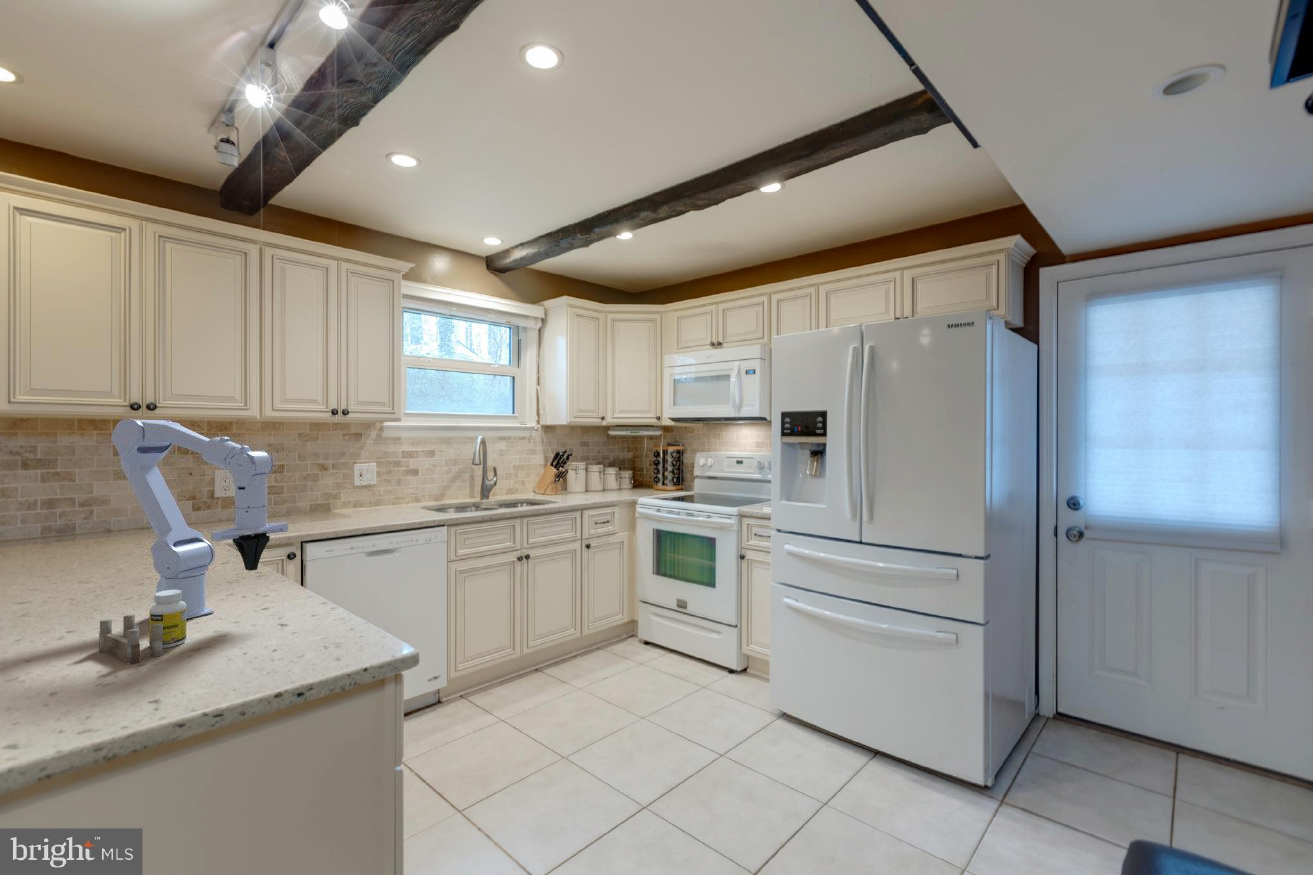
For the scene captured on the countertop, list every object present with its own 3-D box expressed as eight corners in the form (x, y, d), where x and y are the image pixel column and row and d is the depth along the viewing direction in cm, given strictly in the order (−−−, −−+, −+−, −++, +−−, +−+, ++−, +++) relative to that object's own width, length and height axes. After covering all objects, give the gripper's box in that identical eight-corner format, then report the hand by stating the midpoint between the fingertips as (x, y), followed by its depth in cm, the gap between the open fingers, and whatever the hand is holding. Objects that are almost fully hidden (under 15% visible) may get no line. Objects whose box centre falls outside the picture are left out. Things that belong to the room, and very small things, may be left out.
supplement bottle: (143, 650, 108) (143, 597, 108) (156, 640, 113) (156, 589, 113) (180, 647, 110) (180, 595, 110) (191, 637, 115) (190, 587, 115)
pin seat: (97, 650, 108) (97, 620, 108) (131, 642, 112) (131, 613, 112) (130, 664, 102) (130, 632, 102) (165, 655, 106) (165, 624, 106)
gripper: (223, 511, 119) (223, 579, 119) (296, 504, 132) (296, 565, 132) (205, 509, 122) (205, 575, 122) (277, 502, 135) (277, 561, 135)
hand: (251, 569), depth 127 cm, fingers closed
